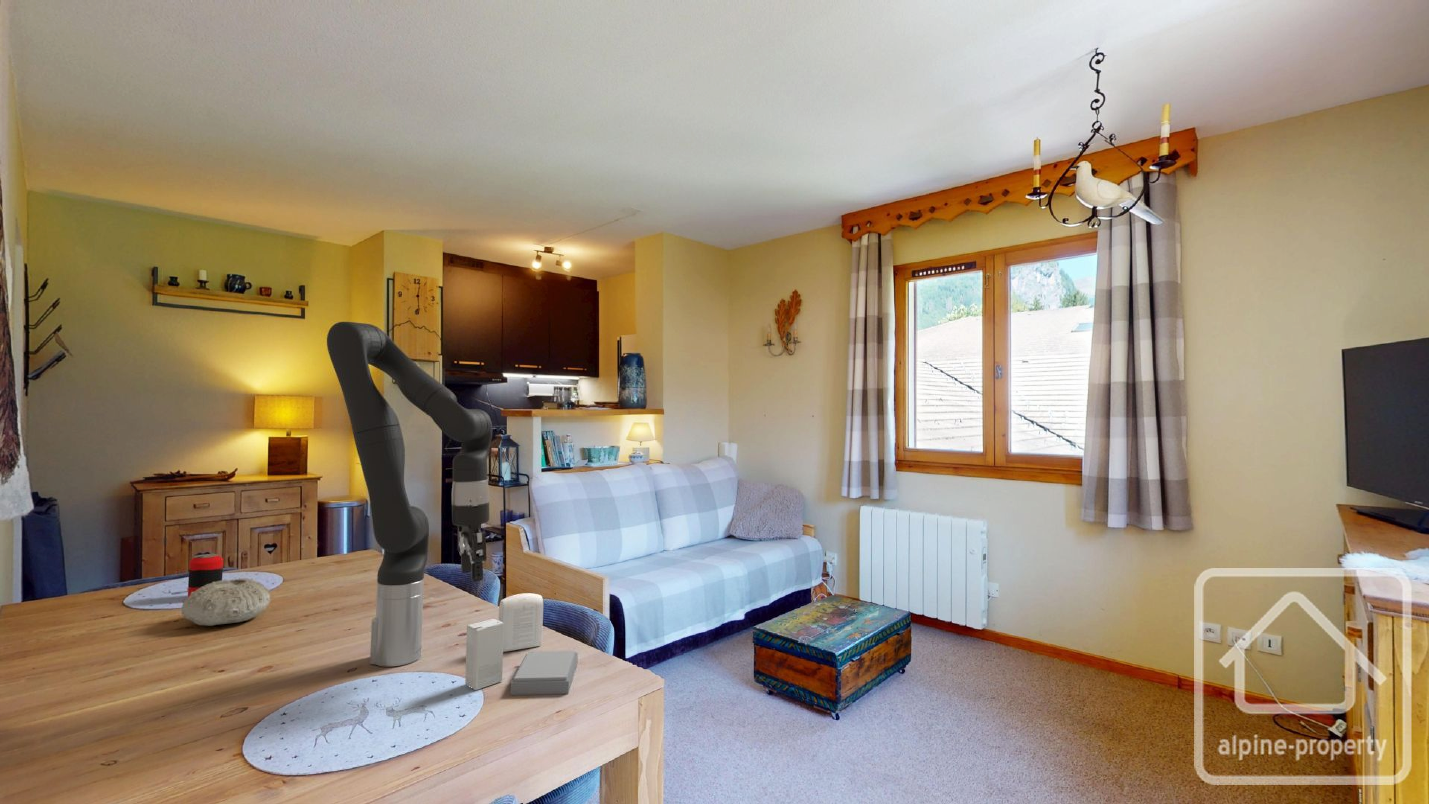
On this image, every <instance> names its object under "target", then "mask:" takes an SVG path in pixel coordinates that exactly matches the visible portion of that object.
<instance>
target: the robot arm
mask: <svg viewBox="0 0 1429 804" xmlns="http://www.w3.org/2000/svg"><path fill="white" fill-rule="evenodd" d="M326 336H327V337H326V346H327V347H326V348H327V352H328V355H329V358H330V361H331V363H332V366H333V369H334V371H335V374H336V378H337V379H338V382H339V385H340V389H341V392H342V395H343V399H344V402H345V405H346V409H347V413H348V414H347V415H348V417H349V421H350V425H351V430H352V435H353V439H354V444H355V448H356V451H357V455H358V458H359V462H360V467H361V469H362V473H363V478H364V482H365V485H366V488H367V492H368V493H367V494H368V497H369V503H370V511H371V521H372V528H373V535H374V539H375V540H376V542H377V544H378V546H379V547H380V548H381V549H382V550H383V558H382V561H381V564H380V565H379V568H378V570H377V576H376V577H377V578H376V580H377V581H376V603H375V605H376V606H375V616H374V617H373V618H372V619H371V626H370V628H371V630H370V634H371V635H370V658H369V664H370V665H377V666H379V667H385V668H386V667H397V666H398V667H399V666H404V665H408V664H411V663H413V662H417V660H419V659H420V658H421V656H422V637H423V610H424V609H423V608H424V585H425V584H424V583H425V581H424V580H425V569H426V565H427V562H428V555H429V554H428V552H429V539H430V538H429V537H430V525H429V519H428V517H427V514H426V513H425V512H424V511H423V510H422V509H421V508H419V507H417V506H413V505H411V504H410V502H409V501H410V500H409V499H408V494H407V491H406V490H407V489H406V486H405V465H406V464H405V463H406V450H405V448H406V447H405V441H404V437H403V432H402V427H401V423H400V422H399V421H400V420H399V418H398V416H397V414H396V412H395V411H394V409H393V408H392V406H391V405H390V404H389V402H388V401H387V400H386V399H385V397H384V396H383V394H382V393H381V392H380V391H379V389H378V387H377V386H376V383H375V381H374V379H373V376H372V374H371V369H370V366H372V367H374V368H376V369H378V370H380V371H382V372H383V373H385V374H387V376H389V377H390V378H391V379H392V380H393V382H394V383H395V385H397V387H398V389H399V390H400V392H401V394H402V395H403V397H405V399H407V400H408V401H409V402H410V403H411V404H412V405H413V406H415V407H416V408H417V409H419V410H420V411H422V412H423V413H424V414H426V415H427V416H429V417H430V418H431V419H432V422H434V424H435V425H436V426H437V427H438V428H439V429H440V431H441V432H442V433H444V434H445V435H446V436H447V437H448V438H450V439H452V440H454V441H456V442H459V443H461V446H460V451H459V452H458V453H457V454H456V455H454V457H453V460H452V486H451V487H452V488H451V523H452V524H453V526H457V552H459V556H460V562H461V563H460V566H461V567H460V568H461V573H462V574H468V573H470V574H471V575H470V577H471V578H470V580H471V582H474V583H475V582H480V581H483V580H484V569H483V568H484V562H485V561H487V539H486V538H487V537H486V536H487V534H486V531H482V530H481V526H482V524H487V523H488V522H489V521H490V488H489V481H488V456H489V453H490V449H491V443H492V439H493V423H492V420H491V417H490V415H489V414H488V413H487V412H486V411H484V410H483V409H478V408H476V409H475V408H471V409H469V408H465V407H463V406H462V405H461V404H459V402H458V398H457V396H456V395H455V394H454V392H452V390H450V389H449V388H447V387H446V386H445V385H444V384H442V383H441V382H440V381H438V380H437V379H435V378H434V377H433V376H431V375H430V374H429V373H427V372H426V371H425V370H424V369H423V368H421V367H420V366H419V365H417V363H415V362H414V361H413V360H412V359H411V357H409V356H408V355H407V354H406V353H405V352H404V351H403V350H402V349H401V348H400V347H399V346H398V345H397V344H396V343H395V342H394V340H392V339H391V337H389V336H388V334H386V333H385V332H384V331H383V330H382V329H381V328H379V326H377V325H373V324H369V323H364V322H363V323H362V322H355V321H338V322H336V323H334V324H333V325H332V326H331V327H329V330H328V333H327V335H326ZM369 365H370V366H369ZM477 554H479V555H477Z"/></svg>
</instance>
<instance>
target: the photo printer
mask: <svg viewBox="0 0 1429 804" xmlns="http://www.w3.org/2000/svg"><path fill="white" fill-rule="evenodd" d="M543 600H544V599H543V596H542V595H541V594H537V593H530V592H529V593H528V592H527V593H526V592H524V593H517V594H514V595H510V596H507V597H505V598H503V599H501V600H500V602H499V608H498V619H497V620H498V621H501V622H503V623H504V633H503V653H504V652H505V653H506V652H510V651H511V652H512V651H516V650H523V649H528V648H534V647H540V646H542V642H543V640H542V639H543V620H544V601H543Z"/></svg>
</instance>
